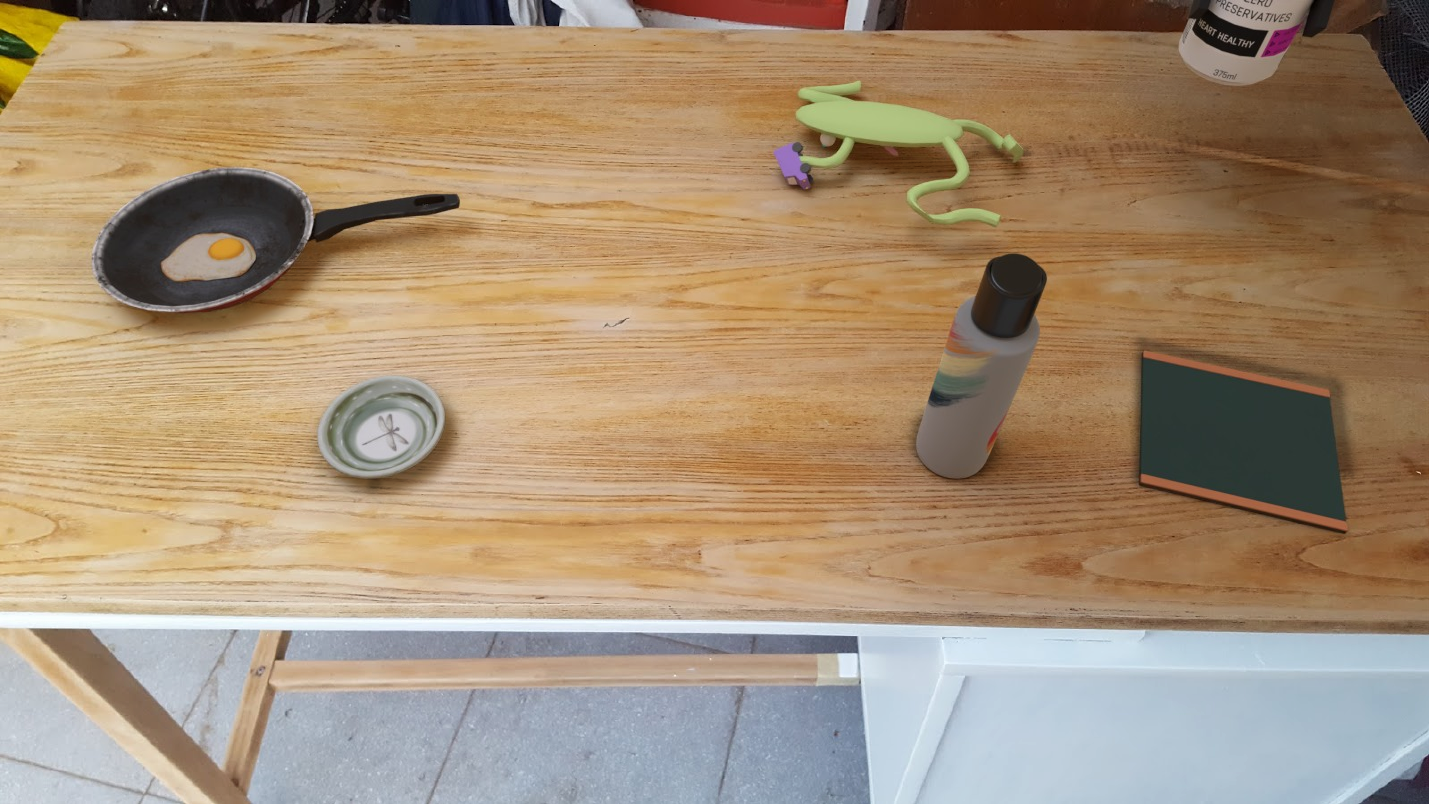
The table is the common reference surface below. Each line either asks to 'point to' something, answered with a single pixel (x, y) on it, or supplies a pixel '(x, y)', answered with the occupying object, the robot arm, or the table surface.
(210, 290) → the frying pan
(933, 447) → the lotion bottle
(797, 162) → the figurine
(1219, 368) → the mat
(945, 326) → the table surface
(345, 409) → the saucer
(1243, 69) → the supplement can
